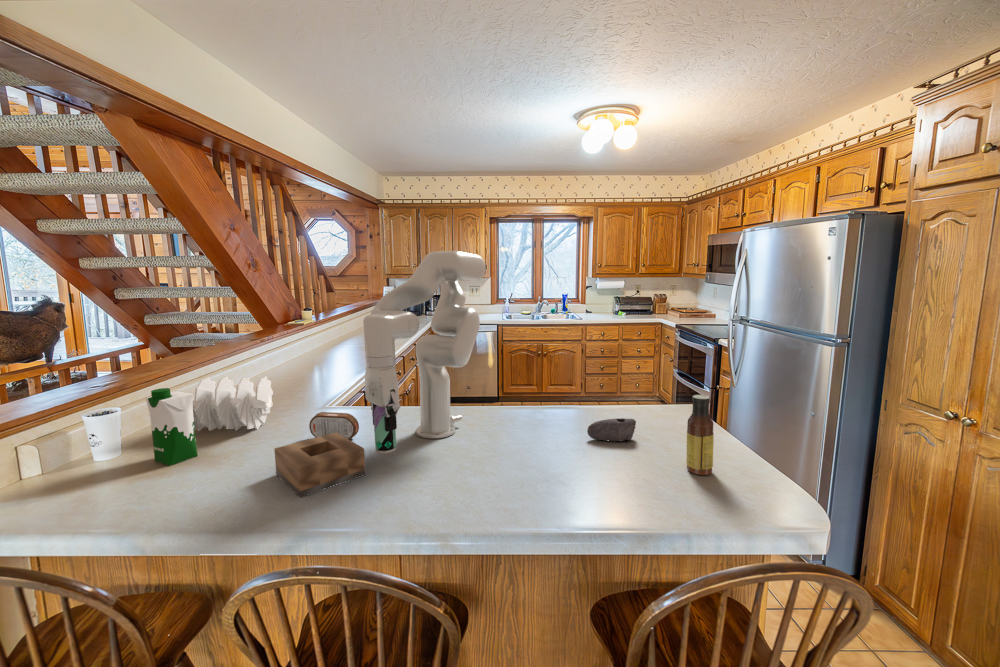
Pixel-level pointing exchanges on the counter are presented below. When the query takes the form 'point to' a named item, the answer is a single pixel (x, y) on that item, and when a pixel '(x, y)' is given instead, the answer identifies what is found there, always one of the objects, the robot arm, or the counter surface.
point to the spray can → (383, 432)
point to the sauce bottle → (700, 437)
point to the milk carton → (172, 426)
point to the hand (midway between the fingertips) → (384, 426)
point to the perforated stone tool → (612, 429)
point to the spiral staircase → (231, 404)
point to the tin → (334, 424)
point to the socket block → (319, 463)
